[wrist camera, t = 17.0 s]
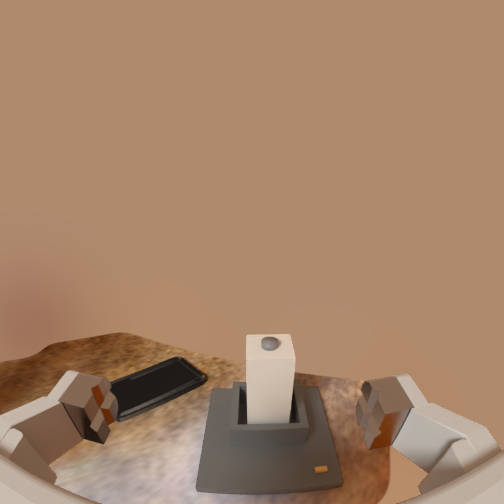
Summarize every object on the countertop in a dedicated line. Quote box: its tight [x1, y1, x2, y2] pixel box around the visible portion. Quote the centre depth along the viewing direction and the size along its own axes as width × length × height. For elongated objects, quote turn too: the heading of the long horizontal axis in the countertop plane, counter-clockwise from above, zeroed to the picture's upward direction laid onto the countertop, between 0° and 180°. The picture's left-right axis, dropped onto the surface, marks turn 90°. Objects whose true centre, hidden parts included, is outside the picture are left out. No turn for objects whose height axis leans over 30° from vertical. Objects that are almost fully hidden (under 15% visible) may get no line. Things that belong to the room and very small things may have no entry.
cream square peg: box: [246, 334, 296, 425], centre depth 27 cm, size 4×4×12 cm
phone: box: [110, 357, 205, 422], centre depth 35 cm, size 8×1×15 cm
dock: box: [196, 381, 344, 494], centre depth 26 cm, size 14×16×4 cm
